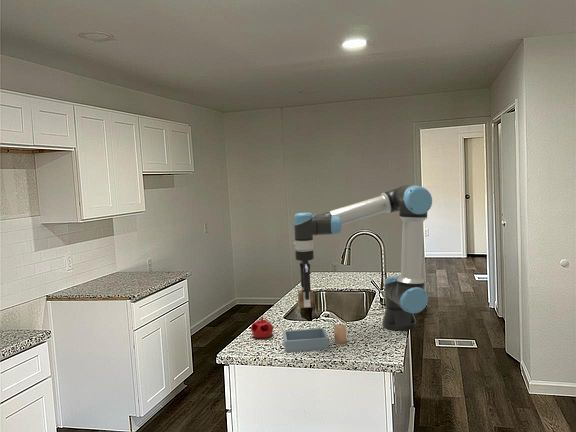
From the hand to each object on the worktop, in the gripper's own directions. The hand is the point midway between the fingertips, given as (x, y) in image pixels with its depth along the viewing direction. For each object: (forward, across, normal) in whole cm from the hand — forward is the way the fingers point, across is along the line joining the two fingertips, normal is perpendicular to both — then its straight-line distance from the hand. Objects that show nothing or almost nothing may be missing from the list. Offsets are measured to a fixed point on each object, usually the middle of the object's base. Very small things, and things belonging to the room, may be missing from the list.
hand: (306, 304), depth 215 cm
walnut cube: (0, 0, 0) cm, 0 cm away
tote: (+18, -2, -1) cm, 18 cm away
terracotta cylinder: (+18, -2, +14) cm, 23 cm away
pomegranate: (+18, -18, -18) cm, 32 cm away
